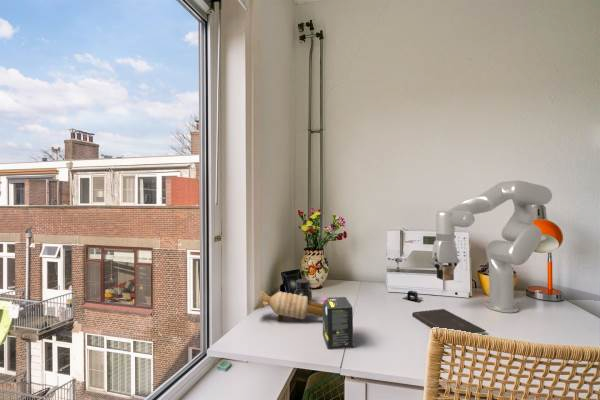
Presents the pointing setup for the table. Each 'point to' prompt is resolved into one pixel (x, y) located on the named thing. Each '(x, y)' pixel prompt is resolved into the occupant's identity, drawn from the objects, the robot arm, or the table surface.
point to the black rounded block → (414, 294)
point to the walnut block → (447, 272)
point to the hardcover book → (446, 321)
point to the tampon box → (337, 323)
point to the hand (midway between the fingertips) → (445, 277)
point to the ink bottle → (303, 288)
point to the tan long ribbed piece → (290, 305)
